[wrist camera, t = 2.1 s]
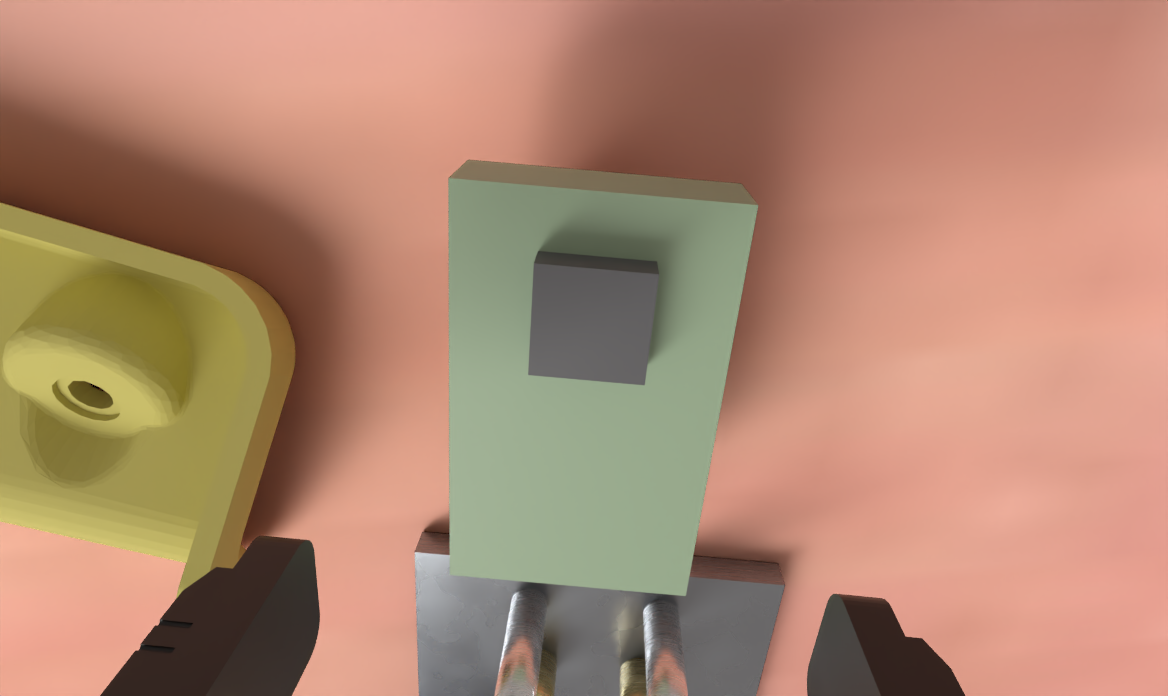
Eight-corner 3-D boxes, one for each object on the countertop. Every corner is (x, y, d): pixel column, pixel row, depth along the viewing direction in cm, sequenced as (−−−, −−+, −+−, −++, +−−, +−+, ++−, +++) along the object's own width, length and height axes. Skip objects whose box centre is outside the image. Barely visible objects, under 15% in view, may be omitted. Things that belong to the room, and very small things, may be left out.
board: (468, 159, 15) (438, 186, 13) (741, 183, 15) (766, 215, 13) (464, 523, 20) (442, 598, 17) (679, 543, 20) (688, 620, 17)
